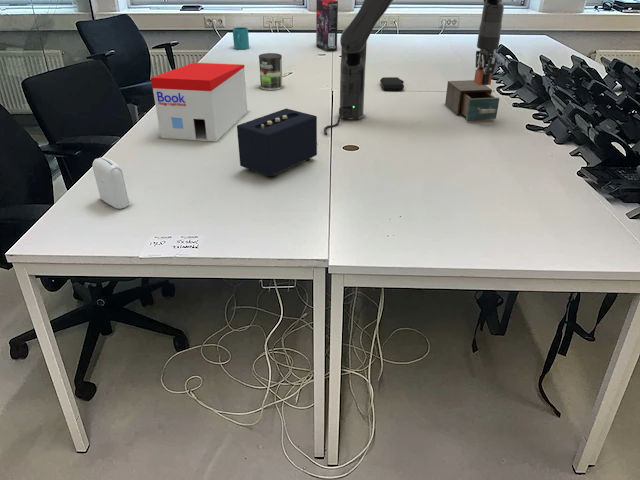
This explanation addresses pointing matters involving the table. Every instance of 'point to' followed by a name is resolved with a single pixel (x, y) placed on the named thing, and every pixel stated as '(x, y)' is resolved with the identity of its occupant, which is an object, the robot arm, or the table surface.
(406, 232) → the table surface
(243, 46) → the cup
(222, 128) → the bookstore
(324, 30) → the graphics card box
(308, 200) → the table surface
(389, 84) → the carrying case
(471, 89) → the box
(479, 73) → the block
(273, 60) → the coffee can
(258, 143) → the speaker
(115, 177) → the photo printer
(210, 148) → the table surface
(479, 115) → the drawer
